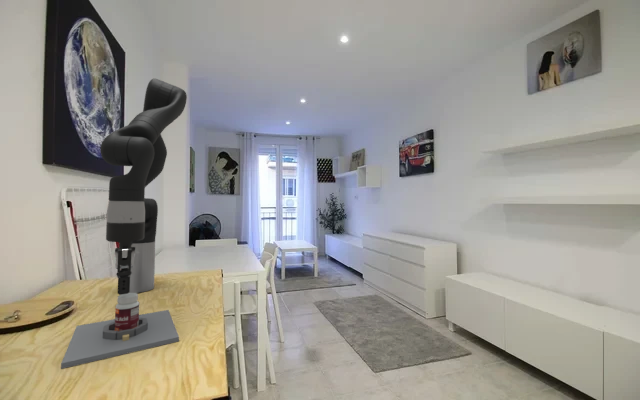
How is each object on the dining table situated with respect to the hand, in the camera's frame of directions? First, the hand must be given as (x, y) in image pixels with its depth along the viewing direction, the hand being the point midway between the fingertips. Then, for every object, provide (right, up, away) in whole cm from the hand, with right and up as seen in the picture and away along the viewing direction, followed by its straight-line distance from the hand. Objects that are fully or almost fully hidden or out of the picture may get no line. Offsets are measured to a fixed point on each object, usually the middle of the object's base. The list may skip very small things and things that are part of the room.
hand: (124, 288), depth 67 cm
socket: (+1, -11, 0) cm, 11 cm away
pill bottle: (+1, -10, 0) cm, 10 cm away
